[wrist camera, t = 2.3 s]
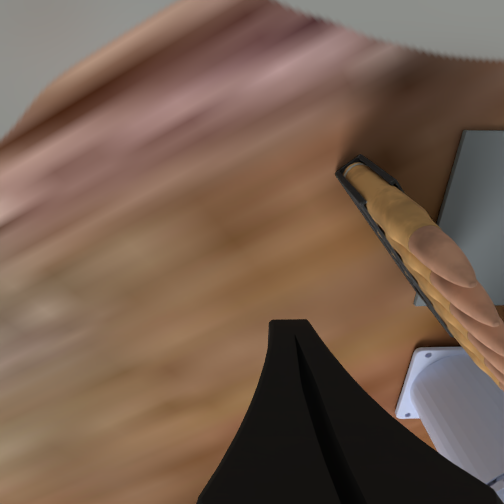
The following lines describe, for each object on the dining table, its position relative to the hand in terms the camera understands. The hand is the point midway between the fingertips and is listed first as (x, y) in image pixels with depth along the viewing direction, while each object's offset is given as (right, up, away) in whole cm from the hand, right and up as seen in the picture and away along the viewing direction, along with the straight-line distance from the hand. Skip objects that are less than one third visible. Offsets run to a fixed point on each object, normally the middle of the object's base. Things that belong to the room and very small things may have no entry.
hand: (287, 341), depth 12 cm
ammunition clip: (+8, +5, +10) cm, 13 cm away
